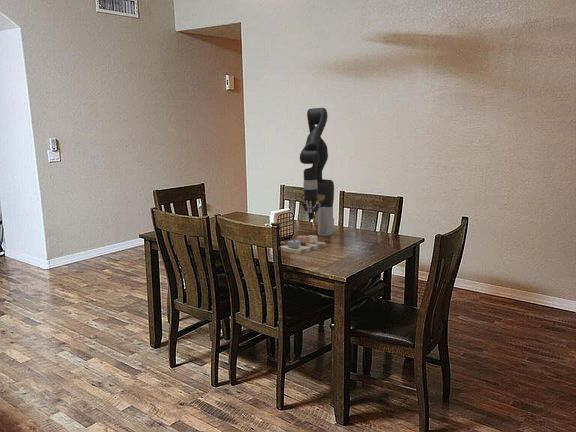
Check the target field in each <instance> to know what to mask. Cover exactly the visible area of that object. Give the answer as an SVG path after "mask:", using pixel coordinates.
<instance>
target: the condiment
mask: <svg viewBox="0 0 576 432" xmlns="http://www.w3.org/2000/svg"><path fill="white" fill-rule="evenodd" d="M271 225H272V226H279V230H280V242H281V245H280V246H284V245H286V243H285V242H284V241H282V228H281V223H280V222H275V221H274V222H271V223H270V226H271Z"/></svg>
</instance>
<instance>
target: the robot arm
mask: <svg viewBox="0 0 576 432" xmlns="http://www.w3.org/2000/svg"><path fill="white" fill-rule="evenodd" d="M306 117H307V119H306V120H307V125H308V131H309V134H308V135H307V136H306V137H307V138H306V142H305V145H304V147H303V149H302V150H301V152H300V153H299V161H300V163H301V164H303V165H311V167H308V168H305V169H303V197H304V198H303V201H301V202H300V204H301V206H302V207H303V209H304V211H305V212H307V214H308V215H307V216H308V219H309V220H314V219H315V213H316V212H317V236H318V235H319V236H322V237H323V236H333V235H334V234H335V218H334V201H335V200H334V199H335V184H334V181H333V180H332V179H325V178H324V179H323V170H324V168H325V166H326V164H327V162H328V159H329V151H328V145H327V144H326V142H325V140H324V139H323V138H322V134H323V132H324V130H325V127H326V124H327V122H328V111H327V109H326V108H325V107H314V108H309V109H307V112H306ZM319 195H321V196H324V198H323V199H321V200H318V196H319Z"/></svg>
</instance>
